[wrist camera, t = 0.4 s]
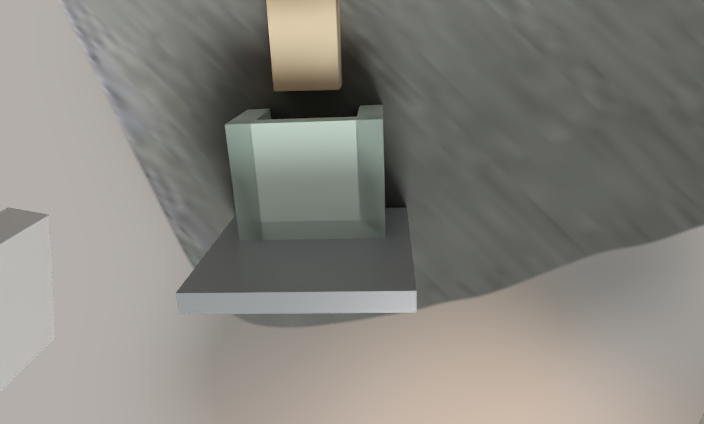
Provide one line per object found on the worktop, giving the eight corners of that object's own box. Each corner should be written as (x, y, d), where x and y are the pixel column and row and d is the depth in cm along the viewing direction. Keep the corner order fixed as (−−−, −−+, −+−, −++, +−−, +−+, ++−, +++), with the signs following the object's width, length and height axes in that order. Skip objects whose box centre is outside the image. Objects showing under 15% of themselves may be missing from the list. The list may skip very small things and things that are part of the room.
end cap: (226, 110, 35) (150, 152, 24) (405, 103, 34) (415, 145, 23) (240, 226, 38) (179, 314, 26) (406, 223, 37) (416, 312, 26)
